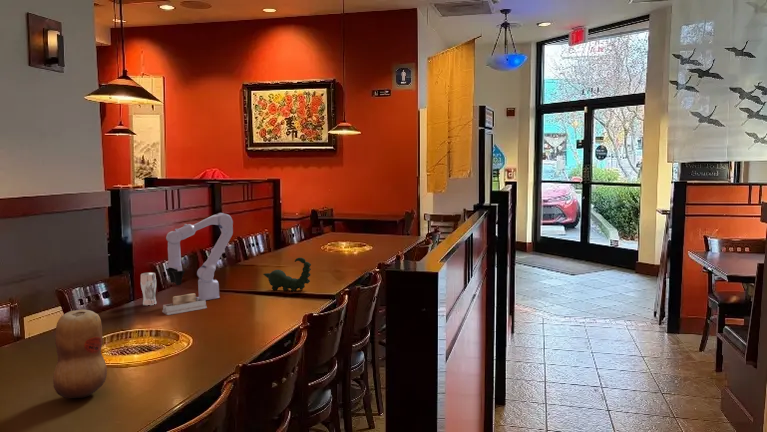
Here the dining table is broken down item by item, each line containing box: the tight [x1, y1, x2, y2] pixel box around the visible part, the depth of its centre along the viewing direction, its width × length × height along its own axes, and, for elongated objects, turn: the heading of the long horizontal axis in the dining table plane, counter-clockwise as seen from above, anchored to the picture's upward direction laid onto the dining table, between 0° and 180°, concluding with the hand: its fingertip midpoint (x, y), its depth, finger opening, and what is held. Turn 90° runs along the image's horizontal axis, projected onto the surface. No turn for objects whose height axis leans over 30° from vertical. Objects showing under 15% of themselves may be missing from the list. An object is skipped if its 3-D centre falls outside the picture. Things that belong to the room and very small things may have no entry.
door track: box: [161, 298, 208, 316], centre depth 252 cm, size 18×7×4 cm, turn 129°
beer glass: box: [140, 271, 157, 307], centre depth 263 cm, size 7×7×15 cm
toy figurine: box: [262, 257, 312, 292], centre depth 288 cm, size 9×19×25 cm
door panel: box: [172, 293, 197, 305], centre depth 252 cm, size 10×2×6 cm, turn 129°
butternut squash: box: [52, 309, 108, 399], centre depth 157 cm, size 14×13×25 cm
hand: (175, 283), depth 266 cm, fingers open, 7 cm apart
